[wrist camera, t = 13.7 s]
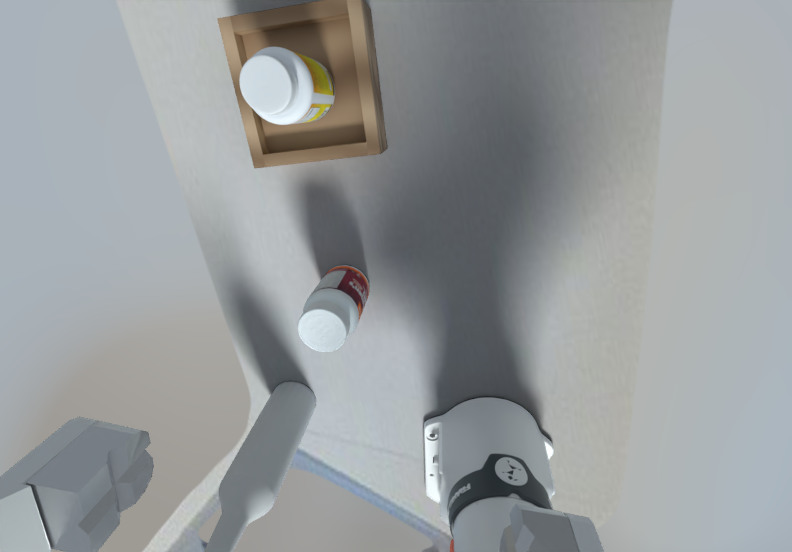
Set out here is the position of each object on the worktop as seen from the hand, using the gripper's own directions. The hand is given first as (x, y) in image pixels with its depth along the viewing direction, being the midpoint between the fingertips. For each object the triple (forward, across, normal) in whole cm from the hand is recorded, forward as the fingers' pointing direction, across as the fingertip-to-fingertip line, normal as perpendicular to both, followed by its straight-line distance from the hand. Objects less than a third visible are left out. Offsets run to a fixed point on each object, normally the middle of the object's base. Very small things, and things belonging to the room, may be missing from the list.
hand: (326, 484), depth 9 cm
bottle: (+39, +13, +34) cm, 53 cm away
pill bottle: (+39, +7, +14) cm, 42 cm away
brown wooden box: (+38, +12, -8) cm, 41 cm away
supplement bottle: (+35, +12, -8) cm, 37 cm away
